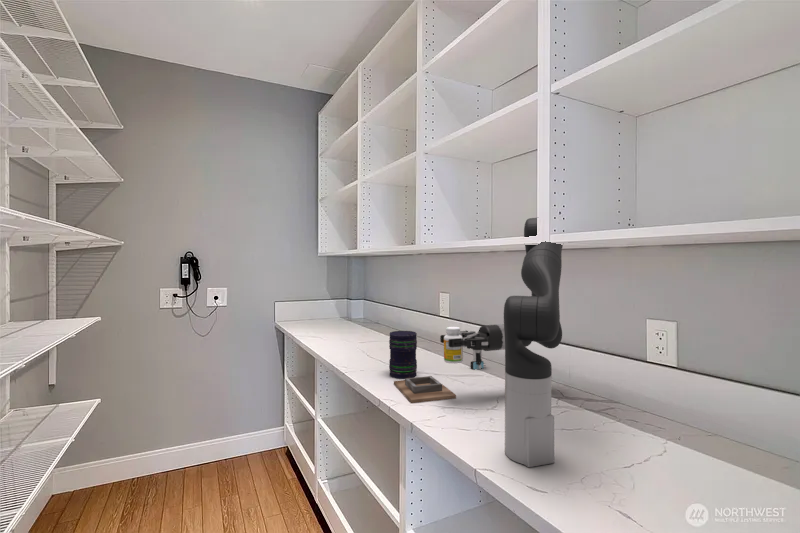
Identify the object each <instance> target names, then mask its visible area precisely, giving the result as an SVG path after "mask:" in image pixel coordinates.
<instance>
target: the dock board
mask: <svg viewBox="0 0 800 533" xmlns="http://www.w3.org/2000/svg"><path fill="white" fill-rule="evenodd" d="M393 385H394V386H395V387H396V388H397V390H398V391H399V392H400V393H401V394H402V395H403V396H404V397H405V399H407V400H408V402H409V403H410V404H417V403H426V402H435V401H443V400H452V399H457V395H456V393H454V392H453V391H452V390H450V389H449V388H448V387H447V386H445V385H444V384H443V383H441V382H440V381H439V380H437V378H435V377H433V376H432V375H429V376H416V377H414V378H405V379H400V380H393Z"/></svg>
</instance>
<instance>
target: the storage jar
mask: <svg viewBox="0 0 800 533" xmlns="http://www.w3.org/2000/svg"><path fill="white" fill-rule="evenodd" d="M417 335H418V334H417V332H416V331H412V330H395V331H391V332H389V341H388V343H389V350H390V352H389V354H390V355H389V361H388V362H389V364H388V366H389V377H390V378H392V379H397V380H405V378H415V377H418V376H417V369H418V360H417V349H418V340H417Z"/></svg>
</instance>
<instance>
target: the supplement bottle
mask: <svg viewBox="0 0 800 533" xmlns="http://www.w3.org/2000/svg"><path fill="white" fill-rule="evenodd" d="M460 331H461V327H459V326H448V327H446V328H445V332H446V334H444V335H445V336H444V343H443V361H444V362H445V363H448V364H460V363H462V362H464V354H463V353H464V349H463V348H464V347H449V346H448V340H449V339H457V338H461V339H462V336H461V335H459V333H460Z"/></svg>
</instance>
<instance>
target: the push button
mask: <svg viewBox="0 0 800 533" xmlns="http://www.w3.org/2000/svg"><path fill="white" fill-rule="evenodd" d="M470 350H472V361H470V369H471V370H475V369H477V370H481V368H482V369H484V368H485V367H486V365H485V364H487V363H486V362H484V360H483V358H482V356H483V355H482V354H483V351H484V350H483V349H482V348H470Z"/></svg>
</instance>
